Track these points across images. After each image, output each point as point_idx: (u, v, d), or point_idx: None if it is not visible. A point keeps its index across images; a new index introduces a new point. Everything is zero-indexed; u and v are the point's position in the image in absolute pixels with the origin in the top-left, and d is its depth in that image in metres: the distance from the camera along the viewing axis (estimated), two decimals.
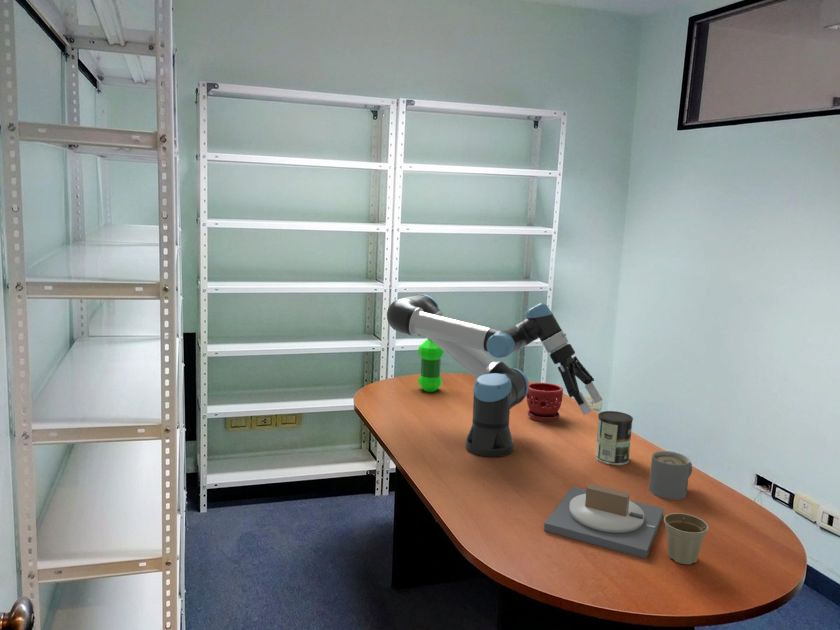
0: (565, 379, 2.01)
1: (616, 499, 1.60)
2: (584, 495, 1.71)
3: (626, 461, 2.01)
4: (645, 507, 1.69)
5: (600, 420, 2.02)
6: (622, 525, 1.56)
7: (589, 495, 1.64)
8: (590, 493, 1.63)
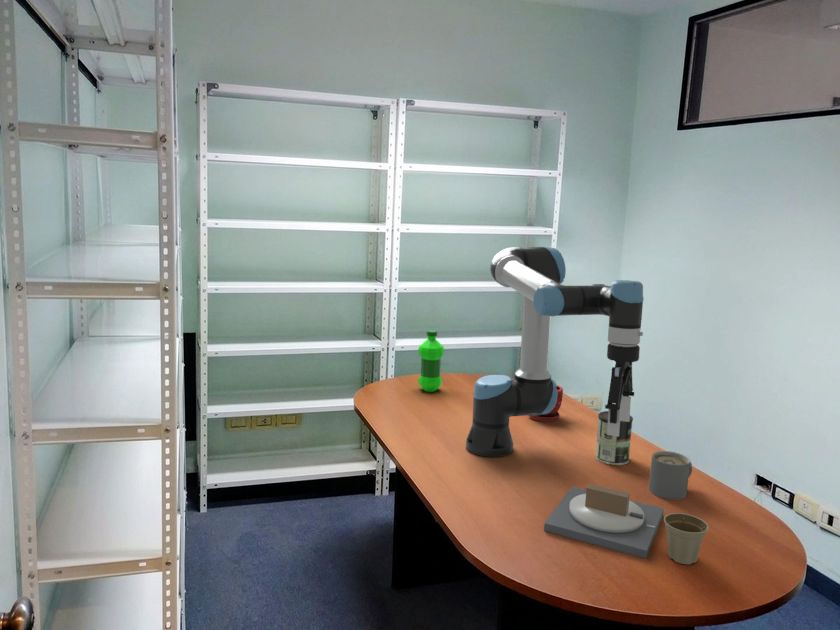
0: (612, 387, 1.54)
1: (616, 499, 1.60)
2: (584, 495, 1.71)
3: (626, 461, 2.01)
4: (645, 507, 1.69)
5: (600, 420, 2.02)
6: (622, 525, 1.56)
7: (589, 495, 1.64)
8: (590, 493, 1.63)
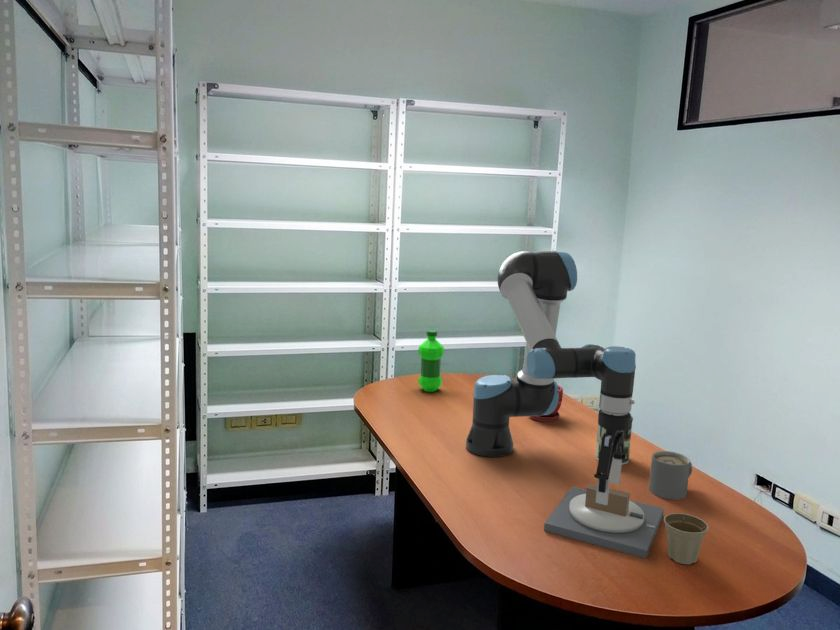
0: (602, 456, 1.54)
1: (616, 499, 1.60)
2: (584, 495, 1.71)
3: (626, 461, 2.01)
4: (645, 507, 1.69)
5: None
6: (622, 525, 1.56)
7: (589, 495, 1.64)
8: (590, 493, 1.63)
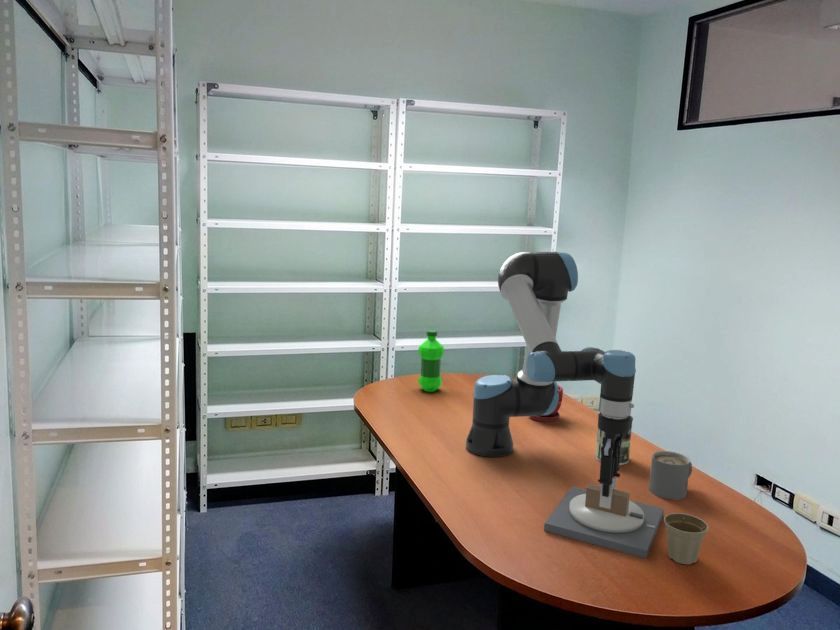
0: (603, 465, 1.57)
1: (616, 499, 1.60)
2: (584, 495, 1.71)
3: (626, 461, 2.01)
4: (645, 507, 1.69)
5: None
6: (622, 525, 1.56)
7: (589, 495, 1.64)
8: (590, 493, 1.63)
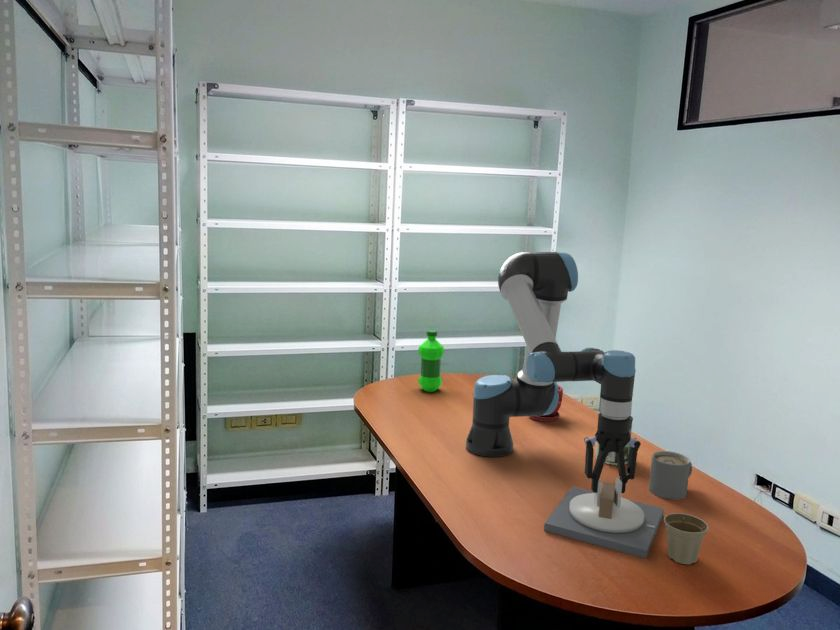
0: None
1: (614, 491, 1.65)
2: (584, 517, 1.59)
3: (626, 461, 2.01)
4: (645, 507, 1.69)
5: None
6: (634, 504, 1.66)
7: (612, 505, 1.59)
8: None
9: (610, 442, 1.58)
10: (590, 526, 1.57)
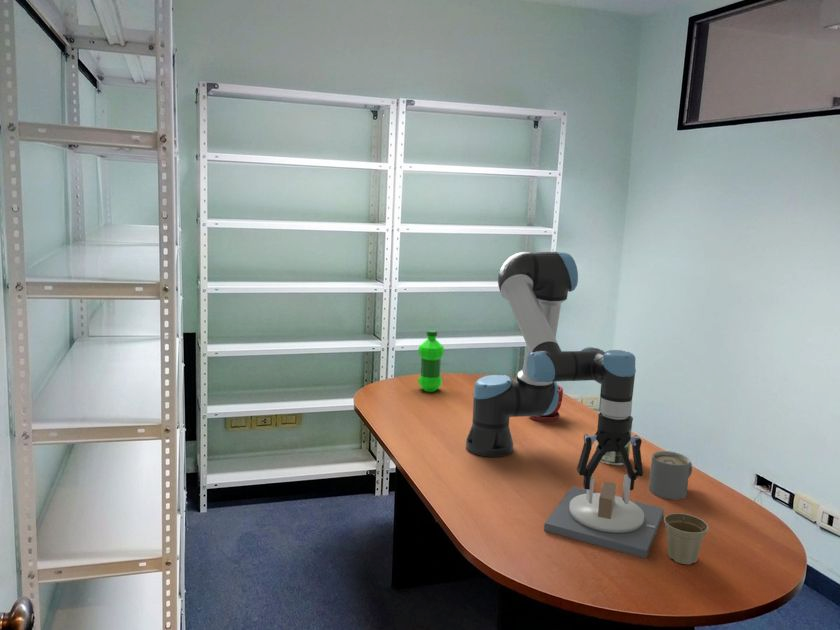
0: None
1: None
2: (583, 517, 1.59)
3: None
4: (645, 507, 1.69)
5: None
6: (634, 505, 1.66)
7: (611, 505, 1.59)
8: (612, 502, 1.59)
9: (610, 442, 1.58)
10: (589, 526, 1.57)
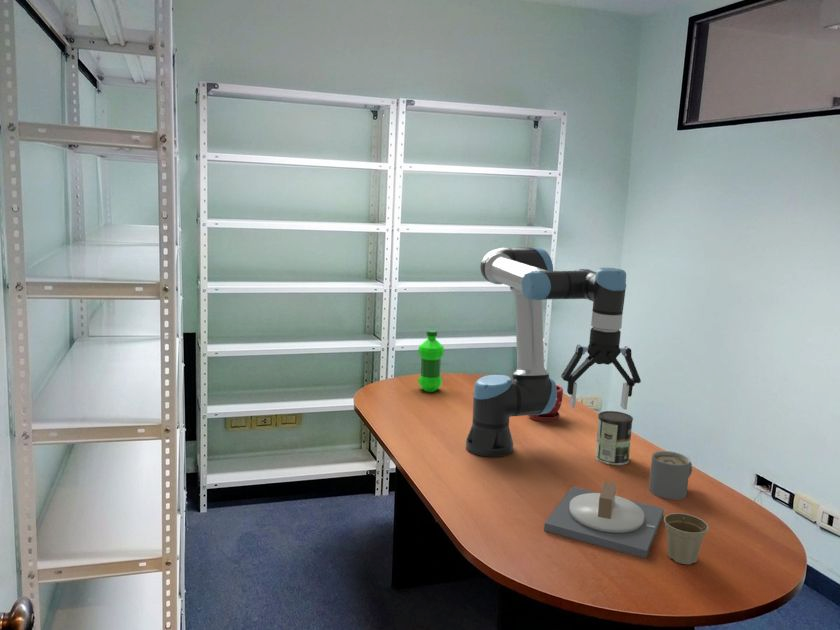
0: (633, 364, 1.70)
1: None
2: (583, 517, 1.59)
3: (626, 461, 2.01)
4: (645, 507, 1.69)
5: (600, 420, 2.02)
6: (634, 505, 1.66)
7: (611, 505, 1.59)
8: (612, 502, 1.59)
9: (601, 354, 1.68)
10: (589, 526, 1.57)
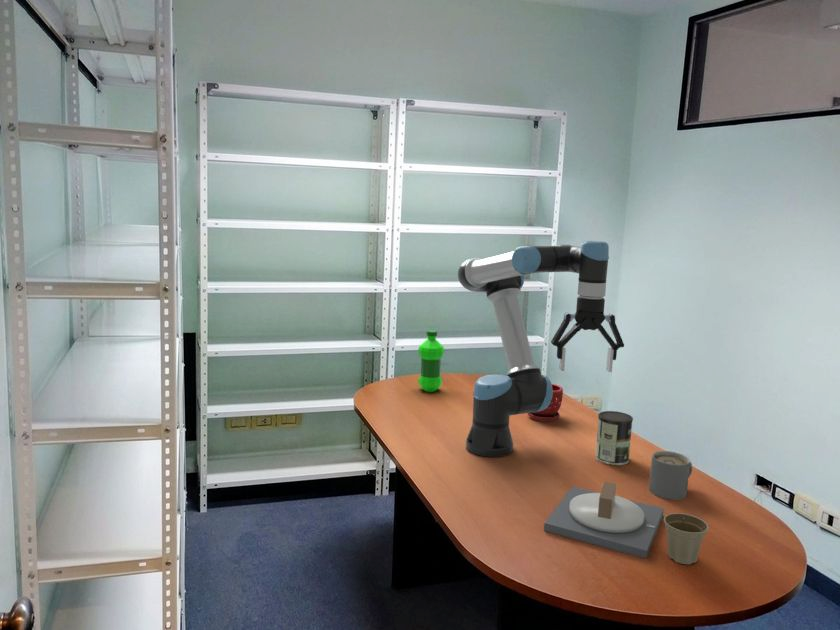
0: (617, 329, 1.84)
1: None
2: (583, 517, 1.59)
3: (626, 461, 2.01)
4: (645, 507, 1.69)
5: (600, 420, 2.02)
6: (634, 505, 1.66)
7: (611, 505, 1.59)
8: (612, 502, 1.59)
9: (587, 320, 1.82)
10: (589, 526, 1.57)
